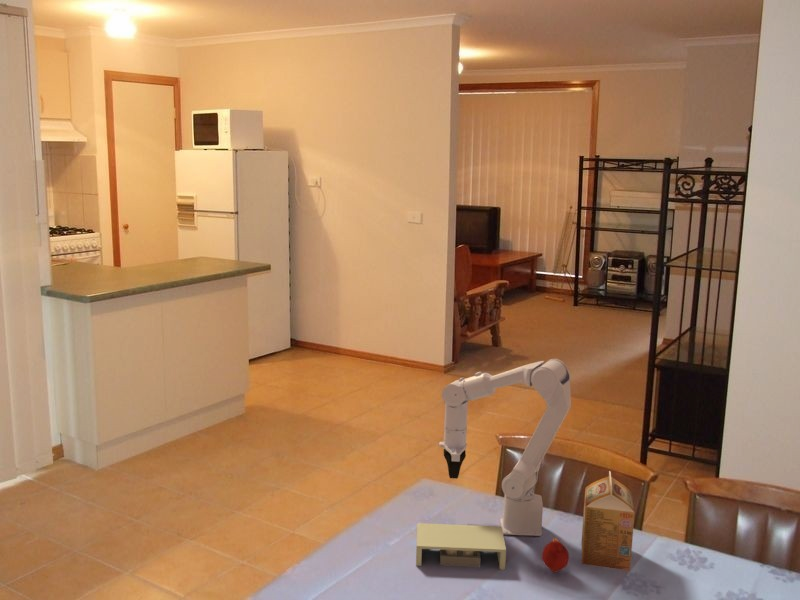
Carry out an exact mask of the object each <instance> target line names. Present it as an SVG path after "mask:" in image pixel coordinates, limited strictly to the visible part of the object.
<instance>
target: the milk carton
mask: <svg viewBox="0 0 800 600" xmlns="http://www.w3.org/2000/svg"><path fill="white" fill-rule="evenodd" d="M584 490H585V491H584V503H583V517H582V528H581V530H582V531H581V565H585V566H592V567H600V568H608V569H616V570H623V571H631V560H632V549H633V540H634V539H633V536H634V528H635V527H634V525H635V515H636V513H635V505H634V501H633V500H634V499H633V494H632V492H631V491H630V490H629V489H628V487H626V486H625V485H624V484H623V483H621V482H619V481H618V480H616V479H615V478H614V477H612V473H611V471H610V470H609V471H608V476H605V477H603V478H601V479H598V480H596V481H593V482H592V483H590V484H589V485H587V486H585V489H584Z"/></svg>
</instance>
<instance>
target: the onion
mask: <svg viewBox="0 0 800 600" xmlns="http://www.w3.org/2000/svg"><path fill="white" fill-rule="evenodd" d="M569 555H570V554H569V550H568V549H567V547H566V546H565V545H564V544H563V543H562V542H560V541H559V539H558V538H556V537H553V541H550V542H548V543H547V544H546V545H545V546H544V547H543V551H542V554H541V559H542V562H543V564H544V565H545V566H546V567H547V569H549V570H550V571H551V572H552V573H556V572H557V573H558V572H560V571H561V570H563V569H565V568H566V567H567V566H568V562H569V559H570V556H569Z"/></svg>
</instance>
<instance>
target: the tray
mask: <svg viewBox="0 0 800 600" xmlns="http://www.w3.org/2000/svg"><path fill="white" fill-rule="evenodd" d="M439 565H440V566H447V567H448V566H450V567H451V566H452V567H470V568H471V567H473V568H474V567H475V568H481V551H466V550H442V549H439Z"/></svg>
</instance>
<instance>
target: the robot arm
mask: <svg viewBox="0 0 800 600" xmlns="http://www.w3.org/2000/svg"><path fill="white" fill-rule="evenodd" d="M544 362H545V360H539V361H536V362H531V363H527V364H525V365H521V366H518V367H516V368H513V369H512V368H511V369H510V370H507V371H503V372H500V373H498V374H495V375H492V374H490V373H489V372H482V371H478V372H476V373H474V375H473V376H469V377H466V378H465V377H460V378H459V379H456V380H454V381H452V382H451V383H449V384H447V385H446V386H445V387H444V388H443V389H442V391H441V397H442V400H443V402H444V403H445V404H444V406H445V407H444V430H443V431H444V432H443V433H444V434H443V441H439V443H438V445H439V447H440V448H443V456H444V458H445V460H446V461H445V462H446V464H447V470H448V476H449V479H455V480H457V479H458V478H459V475H460V471H461V467H462V464H463V462H464V460H465V459H466V456H467V453H466V449H467V448H468V443H467V431H468V429H467V428H468V427H467V426H468V408H469V407H468V403H469V402H472V401H475V400H479V399H482V398H486V397H490V396H493V395H494V394H495V391H496V390H497V389H499V388H503V387H508V386H511V385H515V384H521V383H523V385H525V386H527V387H529V388H530V387H533V389H535V391H536V392H537V393H538V394H539V395H540V396H541V398H542V399H543V400H544V402H545V404H546V409H545V411H544V412H543V414H542V415H541V416H542V417H541V419H540V420H539V422H538V424H537V425H536V428H535V430H534V431H533V434H532V436H531V438H530V439H529V441H528V444H527V445H526V447H525V449H524V451H523V453H522V455H521V457H520V458H519V460H518V461H517V463H516V464H515V466H514V467H513V468H512V470H511V472H510V473H509V474H508V475H506V476H505V477H504V478H503V479H502V481H501V489H502V492H503V494H504V497H503V499H504V500H503V514H502V515H503V516H502V517H501V518H500V519H499V521H500V526H501V527H502V531H503V536H504V535H507V536H510V535H511V536H530V537H531V536H532V537H534V536H535V537H542V535H543V534H542V525H543V513H544V511H543V508H544V507H543V506H544V505H543V504H544V503H543V499H542V498H543V497H542V495H540V494H536V493H534V488H533V487H534V486H535V485H536V484H537V482H538V480H539V479H538V478H539V475H538V474H539V470H540V468H541V463H542V462H543V460H544V458H545V457H546V454H547V452H548V450H549V449H550V447H551V445H552V443H553V441H554V439H555V438H556V435H557V434H558V432H559V430H560V428H561V426H562V424H563V422H564V420H565V419H566V417H567V415H568V413H569V411H570V409H571V406H572V393H571V380H572V375H571V373H570V371H569V369H568V367H567V365H566V363H564V361H562V360H560V359H559V358H552V359H550V358H549V359H548V360H546V362H545V363H544Z"/></svg>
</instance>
